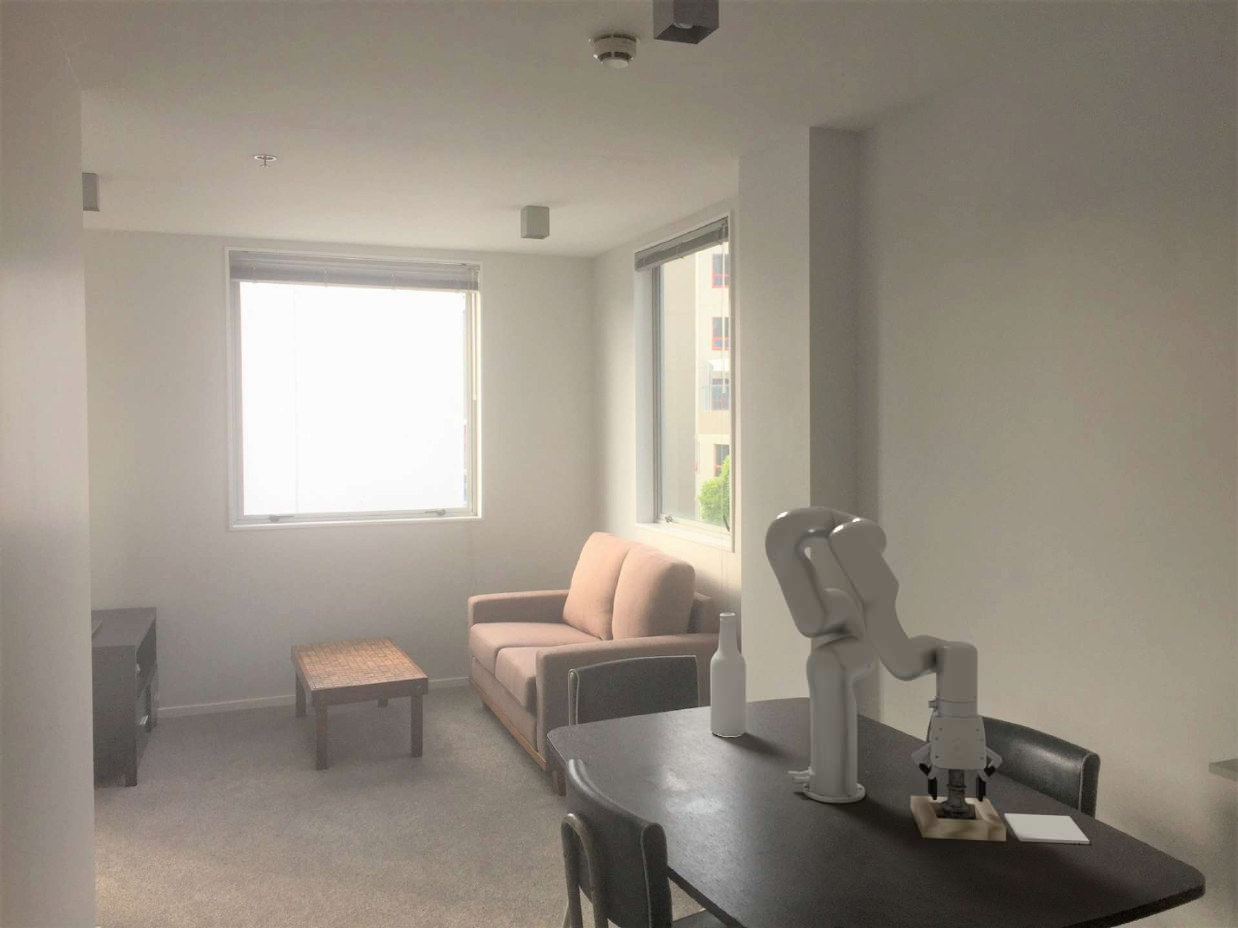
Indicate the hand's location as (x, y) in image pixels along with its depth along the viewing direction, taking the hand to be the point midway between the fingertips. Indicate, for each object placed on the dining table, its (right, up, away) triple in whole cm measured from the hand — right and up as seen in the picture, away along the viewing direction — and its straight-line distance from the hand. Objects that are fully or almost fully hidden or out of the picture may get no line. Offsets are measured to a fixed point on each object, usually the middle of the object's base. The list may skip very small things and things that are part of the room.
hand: (956, 797), depth 194 cm
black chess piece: (0, -5, 0) cm, 5 cm away
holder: (0, -5, 0) cm, 5 cm away
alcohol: (-37, -4, +60) cm, 70 cm away
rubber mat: (+16, -5, -3) cm, 17 cm away
